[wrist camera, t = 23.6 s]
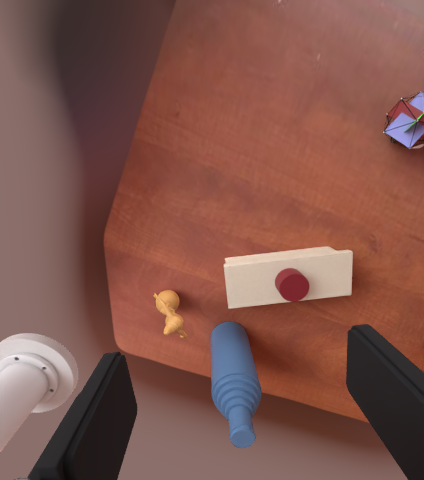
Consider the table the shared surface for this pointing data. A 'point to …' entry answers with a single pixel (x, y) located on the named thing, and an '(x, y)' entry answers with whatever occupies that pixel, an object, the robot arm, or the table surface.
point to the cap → (292, 284)
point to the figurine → (170, 312)
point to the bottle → (234, 381)
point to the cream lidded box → (270, 264)
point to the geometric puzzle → (407, 121)
